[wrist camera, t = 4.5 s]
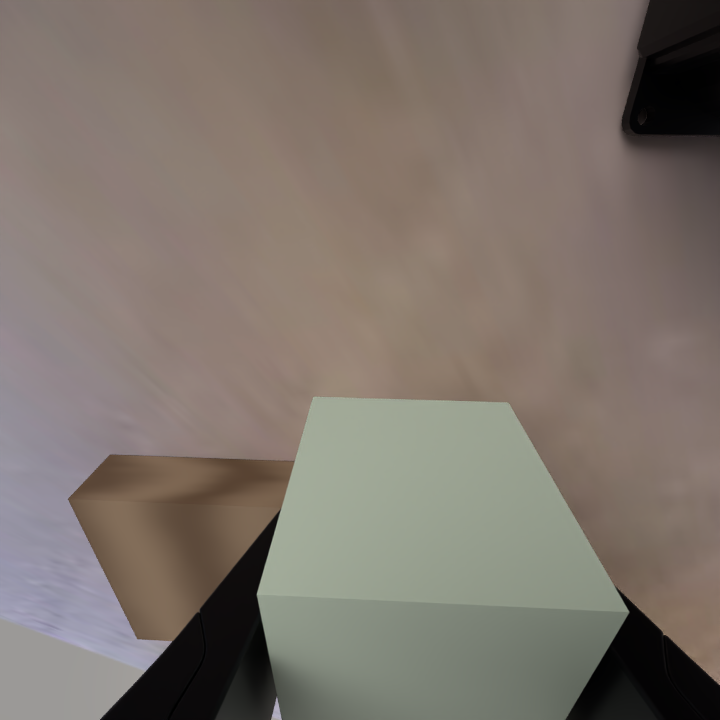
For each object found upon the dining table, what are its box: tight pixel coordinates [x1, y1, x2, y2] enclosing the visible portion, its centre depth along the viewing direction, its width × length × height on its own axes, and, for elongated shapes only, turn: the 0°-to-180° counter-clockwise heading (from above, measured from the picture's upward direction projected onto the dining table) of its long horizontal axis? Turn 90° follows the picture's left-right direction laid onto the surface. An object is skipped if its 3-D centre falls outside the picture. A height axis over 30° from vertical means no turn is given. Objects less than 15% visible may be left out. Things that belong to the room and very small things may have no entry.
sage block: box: [257, 397, 629, 720], centre depth 8 cm, size 5×5×5 cm
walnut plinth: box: [68, 455, 295, 641], centre depth 21 cm, size 12×12×3 cm
